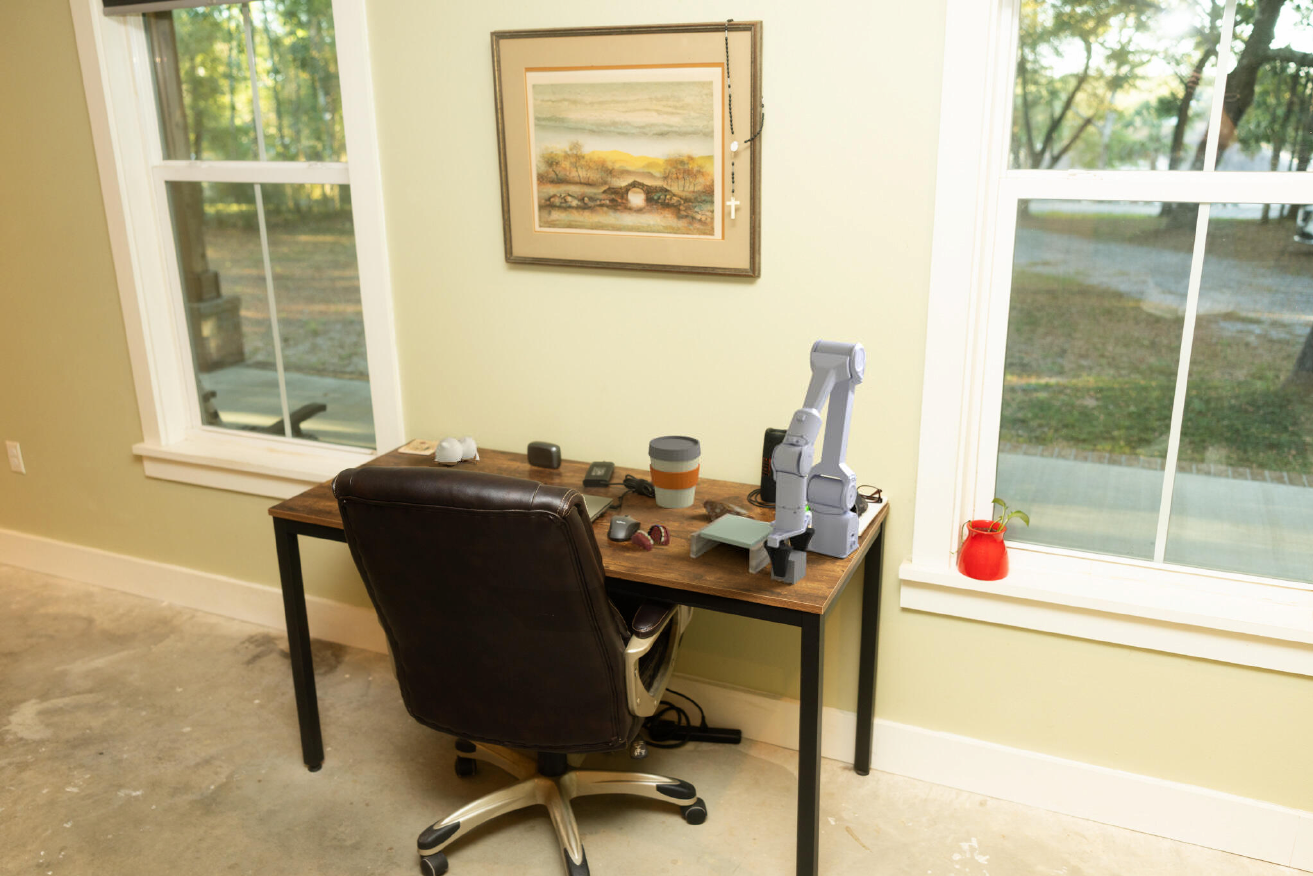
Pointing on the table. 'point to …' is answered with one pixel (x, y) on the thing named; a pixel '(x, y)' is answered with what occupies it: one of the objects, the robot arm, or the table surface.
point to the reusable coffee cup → (674, 469)
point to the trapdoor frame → (701, 544)
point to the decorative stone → (723, 509)
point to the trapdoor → (738, 531)
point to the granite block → (793, 568)
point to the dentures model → (651, 537)
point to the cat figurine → (456, 449)
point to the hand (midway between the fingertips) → (788, 569)
